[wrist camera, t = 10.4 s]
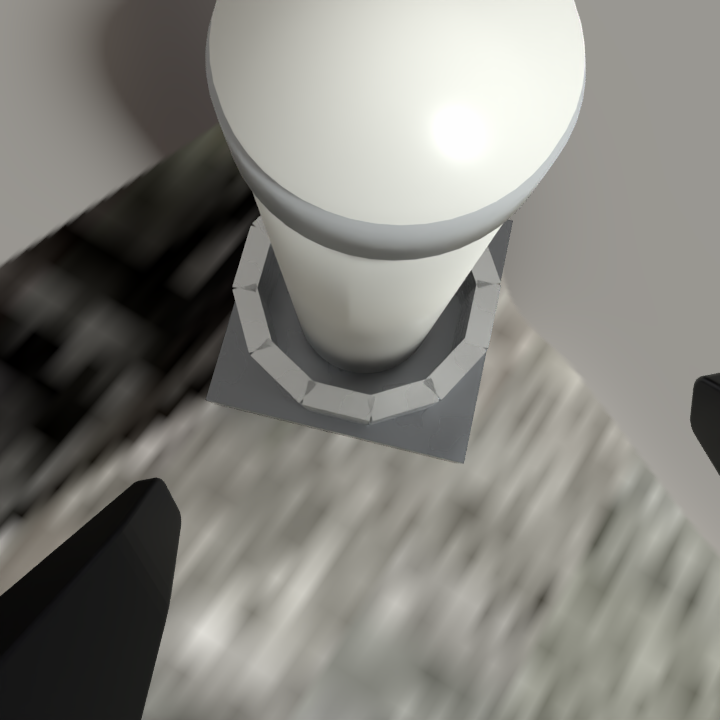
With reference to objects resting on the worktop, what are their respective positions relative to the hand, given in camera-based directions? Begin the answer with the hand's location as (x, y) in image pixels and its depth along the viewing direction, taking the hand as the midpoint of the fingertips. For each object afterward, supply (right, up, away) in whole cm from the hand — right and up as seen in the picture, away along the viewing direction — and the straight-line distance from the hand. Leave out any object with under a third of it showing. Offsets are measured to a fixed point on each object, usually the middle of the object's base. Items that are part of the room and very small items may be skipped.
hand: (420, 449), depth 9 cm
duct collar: (-1, +3, +12) cm, 13 cm away
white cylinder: (-1, +3, +11) cm, 12 cm away
